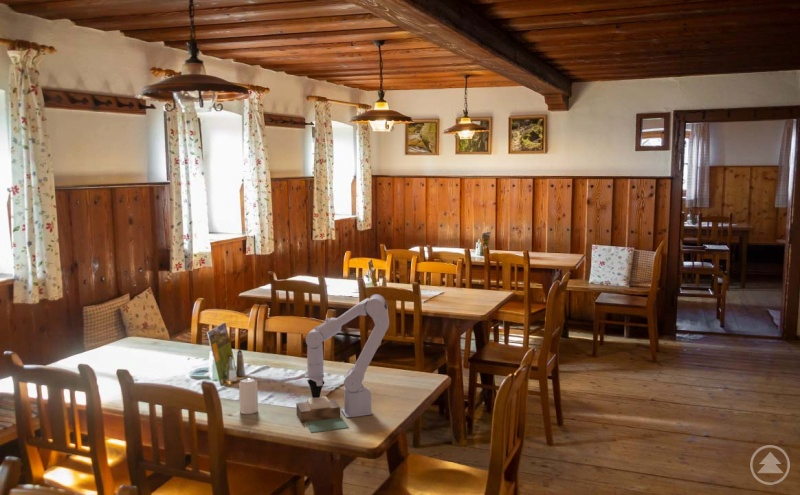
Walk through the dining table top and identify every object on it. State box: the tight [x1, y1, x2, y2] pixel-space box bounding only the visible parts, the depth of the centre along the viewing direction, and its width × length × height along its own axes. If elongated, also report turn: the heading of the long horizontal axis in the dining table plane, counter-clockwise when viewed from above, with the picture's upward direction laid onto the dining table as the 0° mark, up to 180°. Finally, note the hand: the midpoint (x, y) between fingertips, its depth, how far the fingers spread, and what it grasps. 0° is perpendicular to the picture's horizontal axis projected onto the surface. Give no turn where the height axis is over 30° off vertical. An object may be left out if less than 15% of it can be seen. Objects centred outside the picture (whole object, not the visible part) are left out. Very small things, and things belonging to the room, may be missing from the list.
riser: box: [295, 398, 341, 424], centre depth 239 cm, size 14×9×4 cm, turn 109°
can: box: [238, 376, 259, 416], centre depth 243 cm, size 6×6×12 cm
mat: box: [305, 416, 350, 434], centre depth 231 cm, size 13×10×1 cm
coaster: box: [306, 396, 330, 410], centre depth 238 cm, size 7×6×2 cm
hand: (316, 399), depth 242 cm, fingers closed
